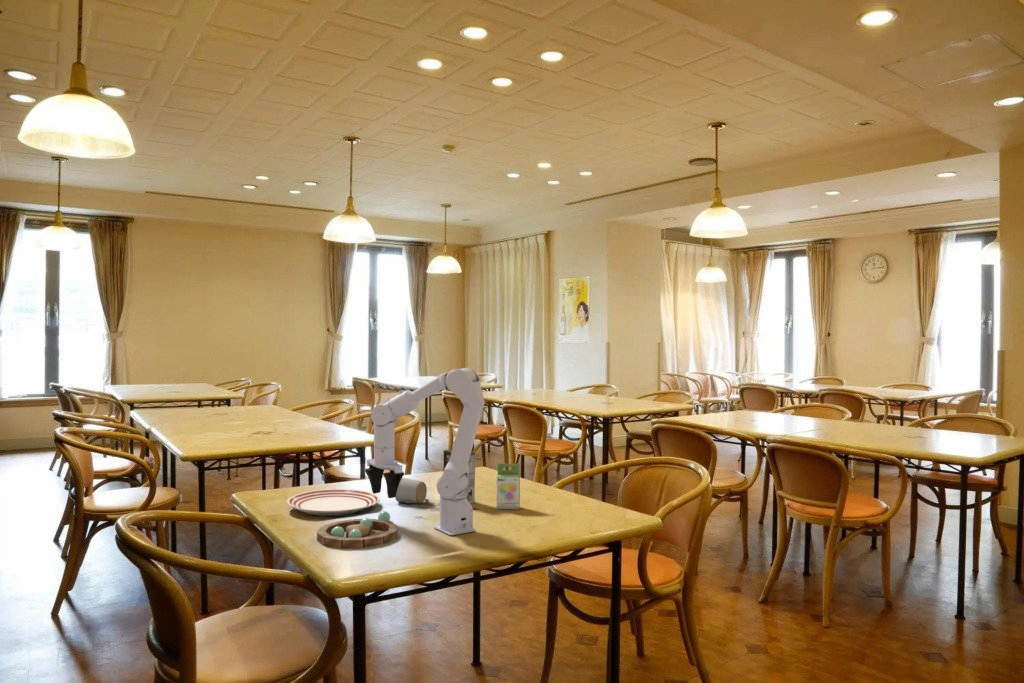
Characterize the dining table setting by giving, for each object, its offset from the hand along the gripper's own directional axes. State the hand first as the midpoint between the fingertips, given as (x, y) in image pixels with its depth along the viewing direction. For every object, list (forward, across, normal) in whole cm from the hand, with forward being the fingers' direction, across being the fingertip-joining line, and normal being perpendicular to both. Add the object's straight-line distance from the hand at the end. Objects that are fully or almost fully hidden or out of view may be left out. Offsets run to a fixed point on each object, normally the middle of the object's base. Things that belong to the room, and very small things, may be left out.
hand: (384, 495), depth 198 cm
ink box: (+8, -11, -38) cm, 40 cm away
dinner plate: (+8, +25, +1) cm, 27 cm away
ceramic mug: (+8, +16, -21) cm, 28 cm away
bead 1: (+7, -5, +9) cm, 13 cm away
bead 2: (+8, 0, 0) cm, 8 cm away
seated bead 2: (+7, -12, +17) cm, 22 cm away
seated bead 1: (+7, -7, +19) cm, 21 cm away
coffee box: (+8, +6, -32) cm, 34 cm away
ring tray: (+8, -8, +13) cm, 18 cm away
